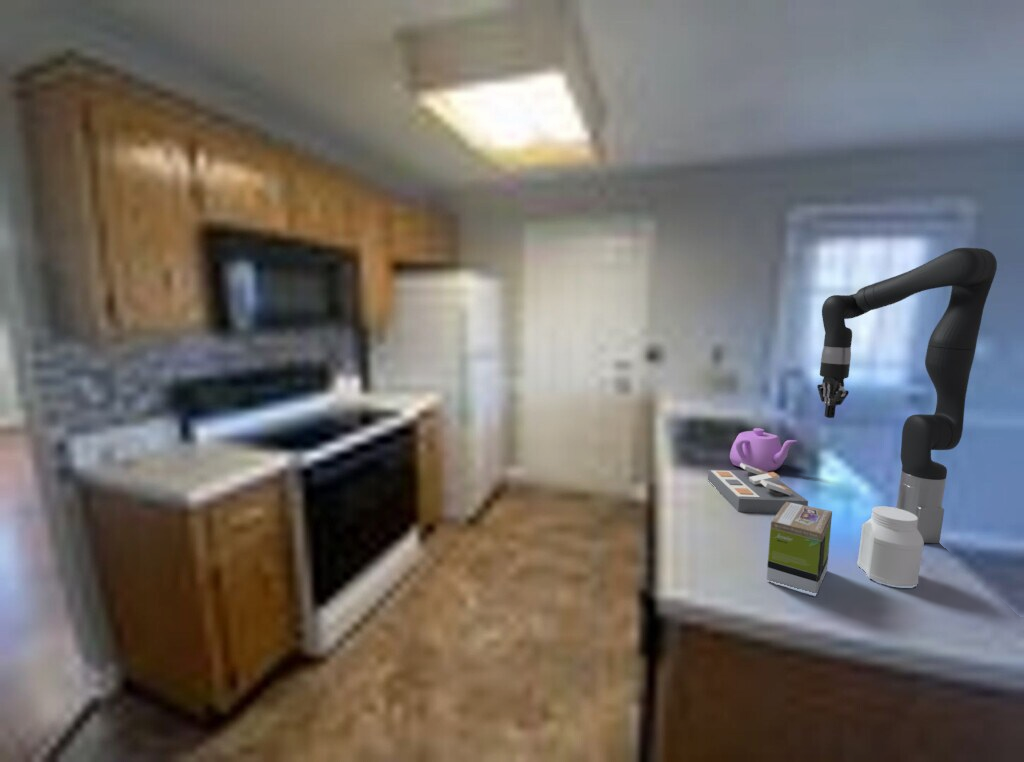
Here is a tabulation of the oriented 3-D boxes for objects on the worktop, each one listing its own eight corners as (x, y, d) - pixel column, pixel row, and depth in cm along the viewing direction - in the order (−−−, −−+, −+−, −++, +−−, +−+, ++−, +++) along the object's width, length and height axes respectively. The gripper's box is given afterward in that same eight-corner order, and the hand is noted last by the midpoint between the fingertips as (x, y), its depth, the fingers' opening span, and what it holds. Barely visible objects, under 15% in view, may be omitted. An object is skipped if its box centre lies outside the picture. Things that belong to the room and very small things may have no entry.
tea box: (780, 557, 124) (785, 499, 122) (827, 571, 118) (834, 510, 116) (764, 582, 113) (770, 519, 111) (816, 599, 107) (824, 532, 104)
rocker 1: (766, 478, 169) (768, 474, 169) (744, 469, 169) (746, 465, 169) (761, 474, 173) (763, 470, 173) (739, 465, 173) (741, 462, 173)
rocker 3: (790, 495, 154) (792, 491, 153) (765, 487, 154) (767, 482, 153) (784, 490, 158) (786, 486, 157) (759, 482, 157) (761, 478, 157)
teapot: (715, 466, 195) (718, 427, 192) (749, 458, 205) (752, 421, 203) (772, 484, 175) (776, 442, 173) (806, 474, 186) (810, 434, 184)
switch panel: (806, 513, 151) (808, 498, 150) (738, 511, 151) (739, 496, 151) (765, 482, 177) (767, 469, 177) (707, 480, 178) (708, 467, 177)
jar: (852, 560, 123) (859, 501, 121) (897, 566, 121) (906, 505, 119) (873, 585, 112) (881, 521, 110) (923, 592, 110) (933, 526, 108)
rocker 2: (780, 479, 161) (779, 475, 161) (754, 484, 162) (753, 480, 162) (774, 475, 165) (773, 471, 165) (749, 480, 166) (748, 476, 166)
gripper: (861, 364, 148) (854, 422, 151) (835, 359, 161) (829, 413, 164) (835, 363, 149) (829, 421, 151) (811, 359, 162) (805, 412, 164)
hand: (829, 417), depth 157 cm, fingers closed
